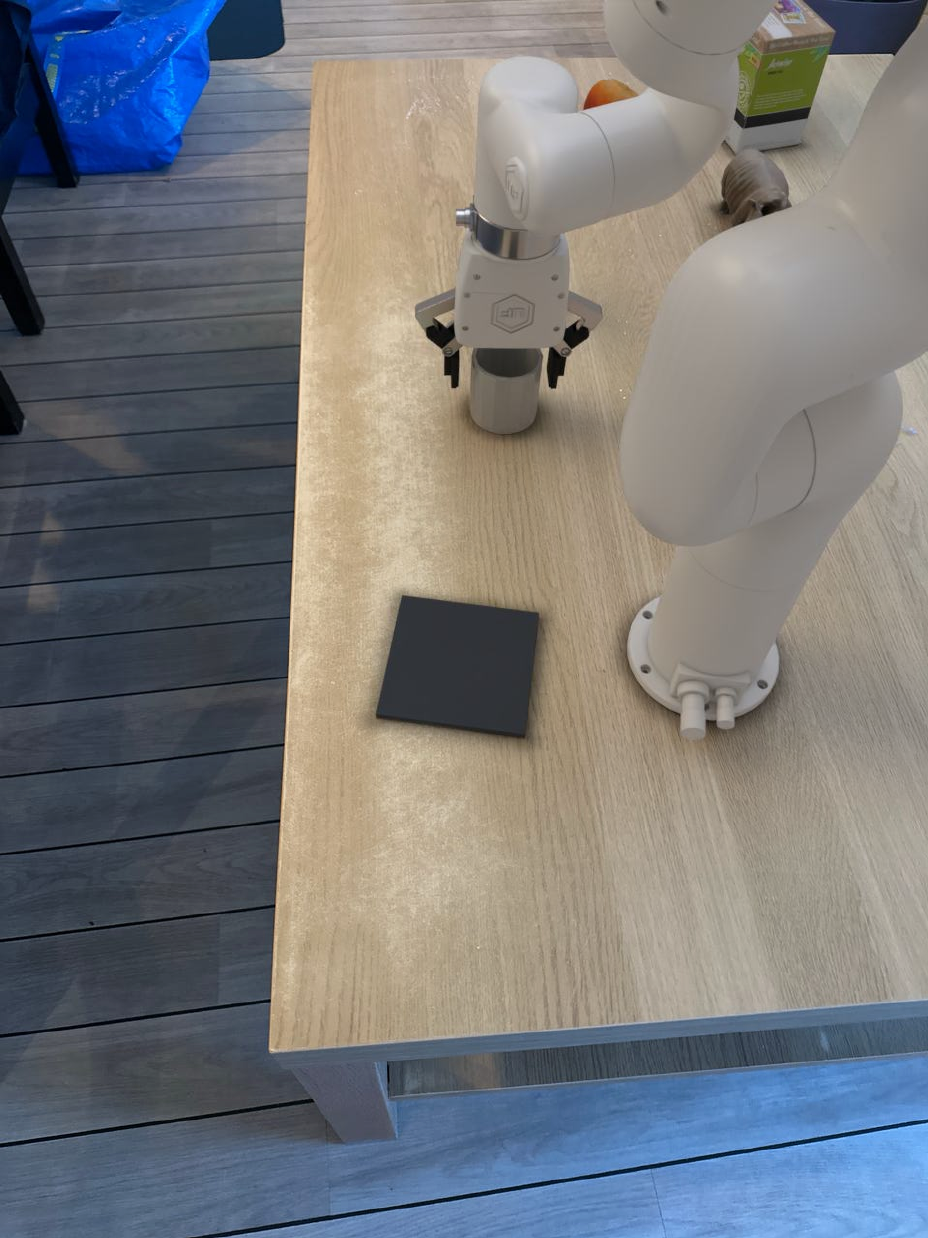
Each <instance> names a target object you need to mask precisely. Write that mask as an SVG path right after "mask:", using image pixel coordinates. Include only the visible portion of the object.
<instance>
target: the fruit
mask: <svg viewBox="0 0 928 1238" xmlns="http://www.w3.org/2000/svg"><path fill="white" fill-rule="evenodd" d="M637 96H640V94H638V92H636V91H635V89H632V88H631V87H630V86H628V85H627V84H625V83H624V82H622V81H618V80H617V79H614V78H612V79H611V78H610V79H601V80H598V81H597V82H596V83H594V85H592V87H591V88H590V90H589V91H588V93H587V95H586V97H585V99H584V102H583V108H582V111H583V110H586V109H590V108H594V107H598V106H602V105H606V104H609V103H613V102H618V101H622V100H626V99H630V98H634V97H637Z"/></svg>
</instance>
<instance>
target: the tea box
mask: <svg viewBox="0 0 928 1238" xmlns="http://www.w3.org/2000/svg"><path fill="white" fill-rule="evenodd" d="M835 35H836V30H835V29H834V28H832V26H830V24H828V23H827V22H826V21H825V20H824V19H823V17H821V16H820V15H819V14H818V13H817V12H815V10H814V9H813V8H811V7H810V6H809V5H808V4H807V3H806V2H805V1H804V0H779V1H778V2H777V4H776V5H775V6H774V8H773V9H772V10H771V12H770V13H769V14H768V16H767V17H766V18H765V20H764V21H763V22H762V24H761V25H760V26H759V28H758V29H757V30H756V32H755V33H754V35H753V36H752V38H751V39H750V40H749V42H748V43H747V44H746V46H745V47H744V48H743V49H742V51H741V52H740V53H739V55H738V56H737V57H738V63H739V74H740V82H739V92H738V100H737V106H736V111H735V116H734V120H733V123H732V125H731V128H730V131H729V132H728V134H727V136H726V138H725V139H724V141H725V143H726V144H727V145H728V146H729V148H730V149H731V150H732V151H733V153H734V154H735V155H737V154H739V153H740V152H742V151H744V150H746V149H749V148H750V149H756V150H758V151H759V152H761V151H767V150H774V149H780V148H785V147H791V146H796V145H800V143H801V140H802V137H803V135H804V132H805V128H806V125H807V122H808V119H809V116H810V113H811V109H812V107H813V103H814V100H815V97H816V94H817V91H818V88H819V85H820V81H821V79H822V76H823V72H824V69H825V66H826V62H827V60H828V57H829V53H830V50H831V47H832V44H833V42H834V41H833V40H834V37H835Z"/></svg>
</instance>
